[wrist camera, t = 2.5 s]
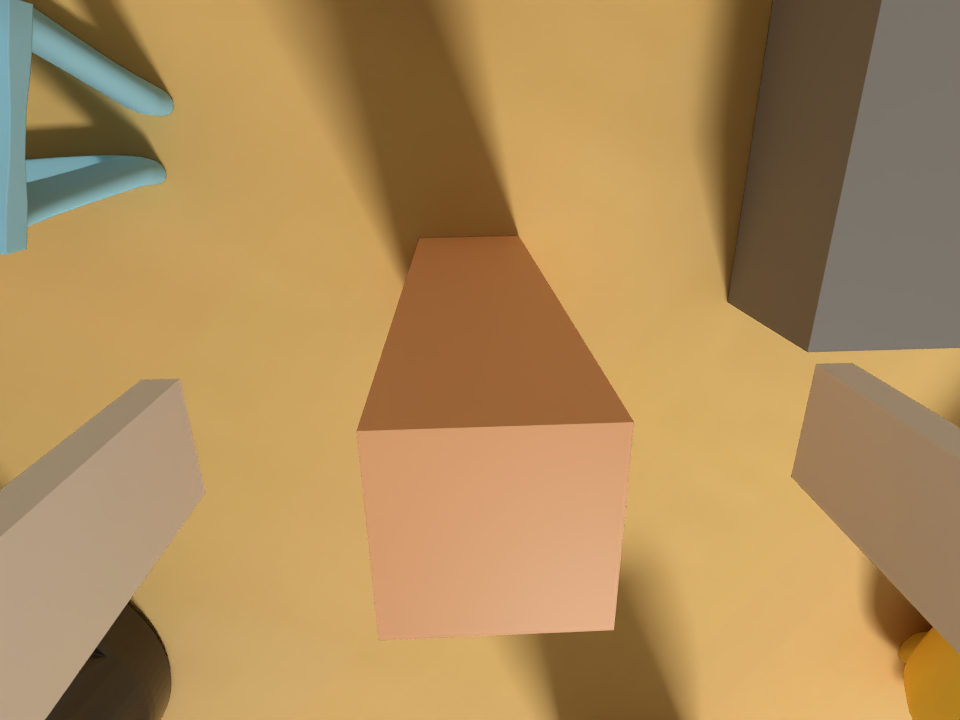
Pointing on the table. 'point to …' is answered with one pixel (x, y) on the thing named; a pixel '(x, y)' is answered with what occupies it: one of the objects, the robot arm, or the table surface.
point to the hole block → (855, 178)
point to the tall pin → (490, 455)
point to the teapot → (931, 676)
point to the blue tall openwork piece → (60, 180)
